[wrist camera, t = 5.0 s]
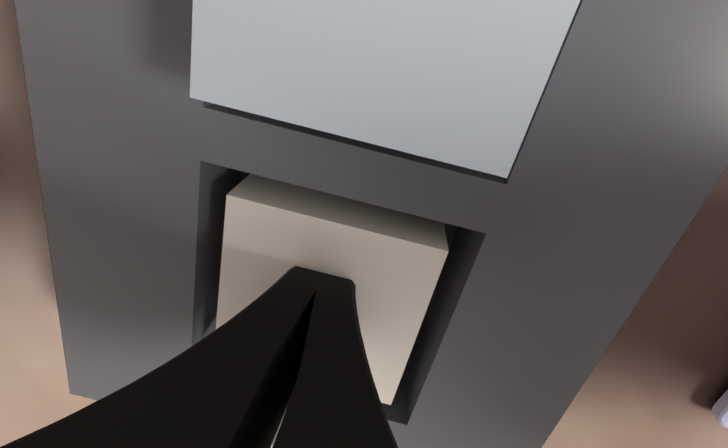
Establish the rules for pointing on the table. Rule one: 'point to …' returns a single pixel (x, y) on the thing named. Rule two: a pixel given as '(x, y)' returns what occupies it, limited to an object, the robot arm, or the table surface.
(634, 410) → the table surface
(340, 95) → the key bluegrey
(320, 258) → the key ivory
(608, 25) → the keypad
